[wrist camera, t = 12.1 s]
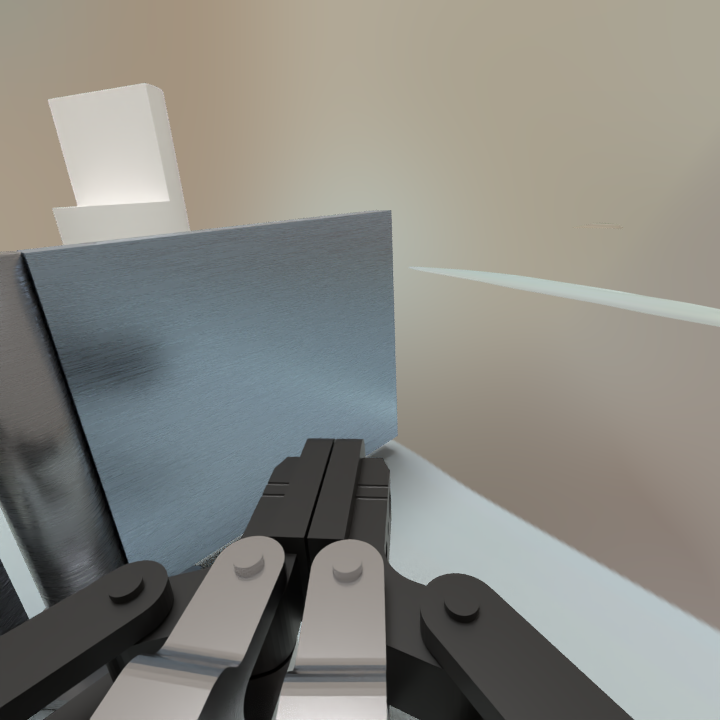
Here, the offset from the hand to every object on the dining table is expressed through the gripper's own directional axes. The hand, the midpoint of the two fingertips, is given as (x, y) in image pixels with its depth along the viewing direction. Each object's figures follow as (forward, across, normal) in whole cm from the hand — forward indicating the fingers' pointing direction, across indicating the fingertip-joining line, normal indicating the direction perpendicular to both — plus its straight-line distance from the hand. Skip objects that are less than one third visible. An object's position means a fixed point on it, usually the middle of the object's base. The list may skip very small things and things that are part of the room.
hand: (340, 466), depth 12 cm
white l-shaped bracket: (+53, -40, -8) cm, 67 cm away
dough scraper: (+5, -5, -6) cm, 9 cm away
